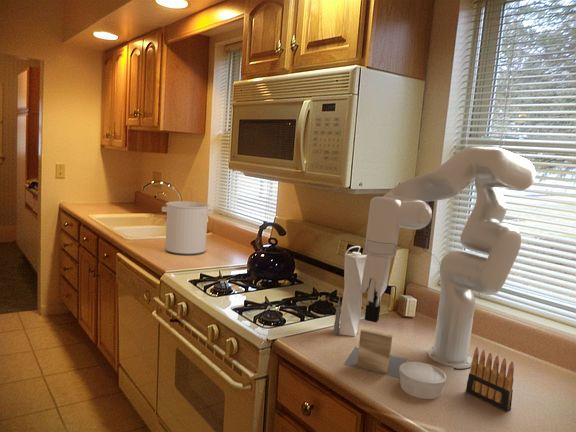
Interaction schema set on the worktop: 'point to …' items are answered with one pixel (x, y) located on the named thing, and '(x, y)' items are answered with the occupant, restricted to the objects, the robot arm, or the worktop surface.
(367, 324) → the worktop surface
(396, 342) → the worktop surface
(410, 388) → the ramekin
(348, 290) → the skyscraper
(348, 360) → the mat
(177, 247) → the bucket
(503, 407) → the ammunition clip
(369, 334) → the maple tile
